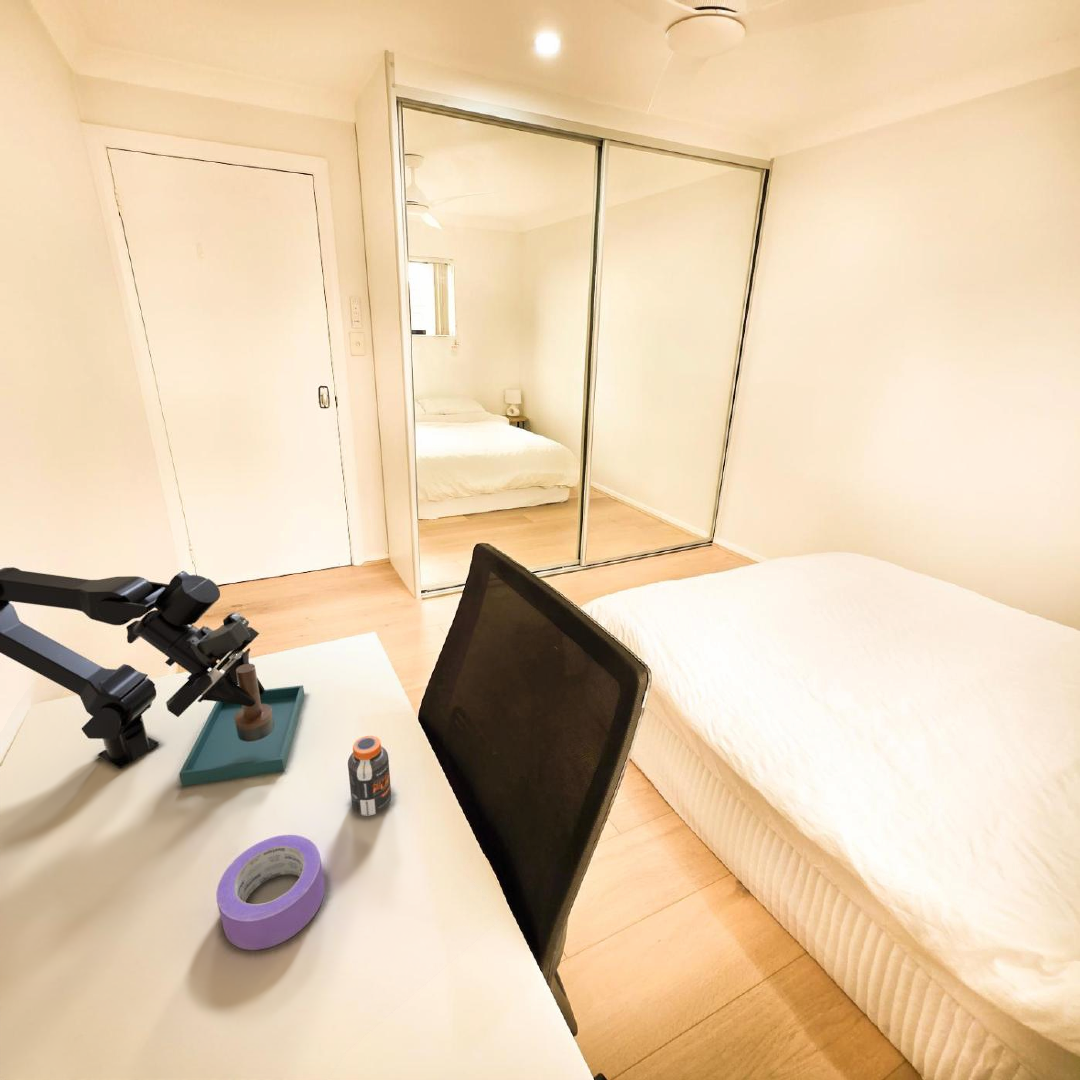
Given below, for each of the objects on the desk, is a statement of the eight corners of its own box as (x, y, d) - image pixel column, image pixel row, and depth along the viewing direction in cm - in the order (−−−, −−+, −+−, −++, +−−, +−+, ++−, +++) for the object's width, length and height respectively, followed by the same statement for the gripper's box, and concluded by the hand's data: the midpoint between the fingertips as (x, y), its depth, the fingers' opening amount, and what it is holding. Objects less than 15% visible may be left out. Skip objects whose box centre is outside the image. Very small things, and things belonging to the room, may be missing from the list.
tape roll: (212, 897, 68) (205, 869, 67) (305, 845, 76) (301, 818, 74) (238, 973, 60) (231, 943, 59) (339, 906, 68) (335, 878, 66)
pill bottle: (380, 820, 80) (374, 760, 76) (344, 813, 81) (337, 754, 78) (398, 790, 86) (393, 733, 82) (364, 784, 87) (358, 727, 83)
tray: (284, 771, 89) (282, 759, 88) (182, 786, 85) (178, 773, 84) (304, 695, 108) (303, 685, 107) (222, 705, 105) (219, 694, 104)
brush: (237, 745, 88) (225, 681, 83) (237, 725, 92) (226, 663, 88) (275, 735, 90) (265, 672, 86) (273, 716, 95) (263, 655, 91)
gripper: (171, 639, 75) (262, 706, 79) (239, 584, 92) (310, 641, 96) (127, 685, 77) (217, 748, 81) (201, 623, 95) (272, 677, 99)
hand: (258, 698), depth 89 cm, fingers closed on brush, 3 cm apart
